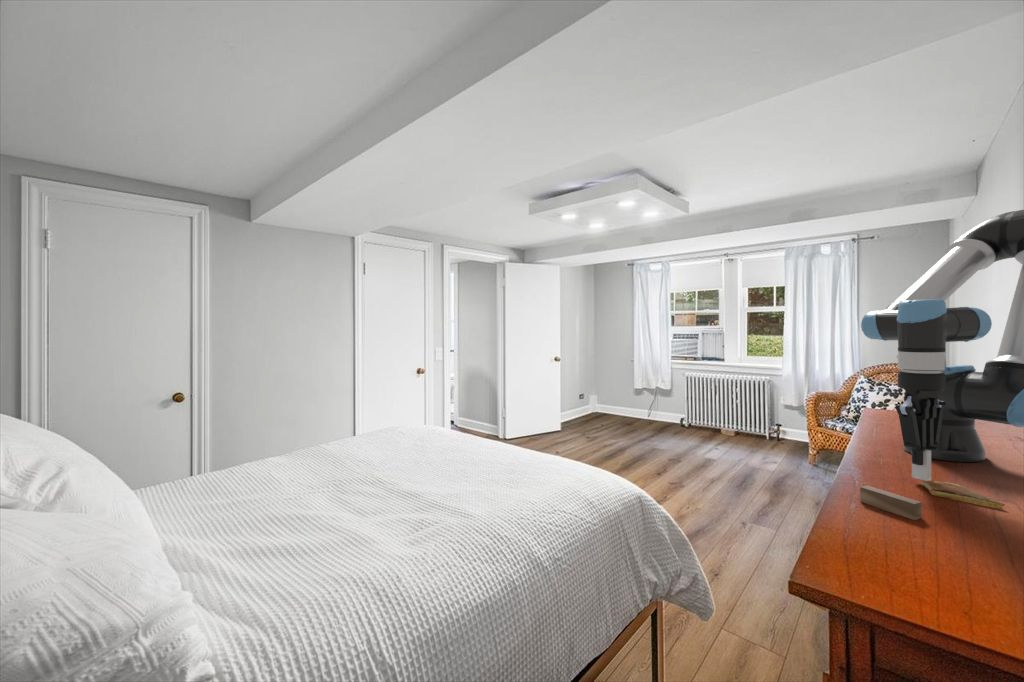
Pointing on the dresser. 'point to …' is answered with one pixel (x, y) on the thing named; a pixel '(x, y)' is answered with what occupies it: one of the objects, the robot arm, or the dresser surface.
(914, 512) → the walnut rail
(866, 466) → the dresser surface
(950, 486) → the shard
